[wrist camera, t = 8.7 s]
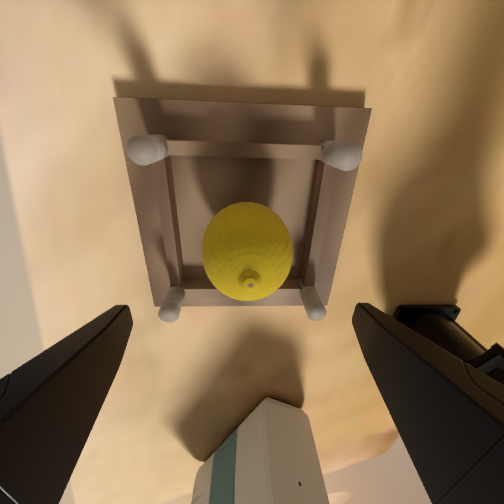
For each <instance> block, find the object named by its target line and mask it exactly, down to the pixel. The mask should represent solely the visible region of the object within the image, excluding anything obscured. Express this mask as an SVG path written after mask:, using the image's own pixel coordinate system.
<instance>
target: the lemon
mask: <svg viewBox="0 0 504 504" xmlns="http://www.w3.org/2000/svg"><path fill="white" fill-rule="evenodd" d="M292 257H293V247H292V241H291V237H290V234H289V231H288V229H287V227H286V225H285V224H284V222H283V221H282V219H281V218H280V217H279V216H278V215H277V214H276V213H275V212H274V211H273V210H271V209H270V208H268V207H266V206H264V205H262V204H258V203H254V202H239V203H235V204H232V205H229V206H227V207H226V208H224V209H222V210H220V211H219V212H218V213H217V214H216V215H215V216H214V217H213V218H212V219H211V221H210V223H209V225H208V226H207V228H206V230H205V232H204V237H203V241H202V262H203V265H204V268H205V271H206V274H207V276H208V278H209V279H210V281H211V282H212V284H213V285H214V286H215V287H216V288H217V289H218V290H219V291H220V292H221V293H223V294H224V295H226V296H228V297H230V298H233V299H237V300H240V301H253V300H259V299H262V298H265V297H267V296H269V295H271V294H272V293H274V292H275V291H276V290H277V289H278V288H279V287H280V286H281V285H282V284H283V283H284V281H285V280H286V278H287V276H288V274H289V271H290V268H291V264H292Z"/></svg>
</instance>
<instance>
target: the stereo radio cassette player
mask: <svg viewBox="0 0 504 504" xmlns="http://www.w3.org/2000/svg"><path fill="white" fill-rule="evenodd" d="M191 504H329V500H328V496H327V492H326V488H325V484H324V480H323V476H322V471H321V467H320V463H319V459H318V455H317V451H316V447H315V442H314V438H313V434H312V430H311V426H310V422H309V418H308V416H307V414H306V413H305V412H304V411H303V410H302V409H299V408H297V407H294V406H291V405H289V404H286V403H283V402H280V401H277V400H274V399H271V398H270V397H267V398H265V400H263V401H262V402H261V403H260V404H259V405H258V406H257V407H256V408H255V410H254V411H253V412H252V413H251V414H250V415H249V416H248V417H247V418H246V419H245V420H244V421H243V422H242V423H241V424H240V426H239V427H238V428H237V429H236V430H235V431H234V432H233V433H232V434H231V435H230V436H229V437H228V438H227V439H226V440H225V441H224V443H223V444H222V445H221V446H220V447H219V448H218V449H217V450H216V451H215V452H214V453H213V454H212V455H211V456H210V457H209V459H208V460H207V461H206V462H205V463H204V464H203V465H202V466H201V467H200V468H199V469H198V471H197V474H196V478H195V483H194V489H193V496H192V502H191Z"/></svg>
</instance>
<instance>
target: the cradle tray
mask: <svg viewBox="0 0 504 504" xmlns="http://www.w3.org/2000/svg"><path fill="white" fill-rule="evenodd" d="M113 100H114V105H115V110H116V115H117V120H118V125H119V130H120V135H121V140H122V145H123V150H124V155H125V160H126V165H127V170H128V175H129V180H130V185H131V190H132V195H133V200H134V205H135V210H136V215H137V220H138V225H139V230H140V235H141V240H142V245H143V250H144V255H145V261H146V266H147V271H148V276H149V281H150V286H151V291H152V296H153V301H154V306H161V308H160V310H159V313H158V315H159V317H160V319H161V320H163V321H165V322H174V321H176V320H177V319H178V316H179V313H180V310H181V307H182V306H295V305H304V307H305V310H306V313H307V315H308V318H309V319H311V320H314V321H317V320H321V319H322V318H324V317H325V315H326V309H325V307H324V305H327V304H328V299H329V295H330V291H331V286H332V282H333V277H334V273H335V269H336V264H337V260H338V255H339V251H340V247H341V242H342V238H343V233H344V229H345V225H346V220H347V216H348V211H349V207H350V202H351V198H352V194H353V189H354V185H355V180H356V176H357V172H358V167H359V163H360V161H361V159H362V150H363V145H364V141H365V136H366V132H367V128H368V123H369V119H370V114H371V110H372V108H351V107H328V106H305V105H282V104H259V103H236V102H213V101H190V100H167V99H144V98H121V97H113ZM239 202H254V203H258V204H262V205H264V206H266V207H268V208H270V209H271V210H273V211H274V212H275V213H276V214H277V215H278V216H279V217H280V218H281V219H282V221H283V222H284V224H285V225H286V227H287V229H288V231H289V234H290V237H291V241H292V247H293V257H292V264H291V268H290V271H289V274H288V276H287V278H286V280H285V281H284V283H283V284H282V285H281V286H280V287H279V288H278V289H277V290H276V291H275V292H274V293H272V294H271V295H269V296H267V297H265V298H262V299H259V300H253V301H240V300H237V299H233V298H230V297H228V296H226V295H224V294H223V293H221V292H220V291H219V290H218V289H217V288H216V287H215V286H214V285H213V284H212V282H211V281H210V279H209V278H208V276H207V274H206V271H205V268H204V265H203V262H202V241H203V237H204V232H205V230H206V228H207V226H208V225H209V223H210V221H211V219H212V218H213V217H214V216H215V215H216V214H217V213H218V212H219V211H220V210H222V209H224V208H226V207H227V206H229V205H232V204H235V203H239Z"/></svg>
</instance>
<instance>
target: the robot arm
mask: <svg viewBox="0 0 504 504" xmlns="http://www.w3.org/2000/svg"><path fill="white" fill-rule="evenodd" d="M460 311H461V309H460V308H459V307H458V306H456V305H402V306H399V307H398V308H397V310H396V312H395V315H394V317H393V318H392V317H390V316H389V315H387V314H385V313H384V312H382V311H380V310H379V309H377V308H375V307H374V306H372V305H371V304H369V303H358V304H357V305H356V307H355V310H354V314H353V317H352V324H353V327H354V330H355V333H356V336H357V339H358V341H359V344H360V347H361V350H362V353H363V356H364V358H365V361H366V363H367V365H368V367H369V370H370V372H371V374H372V376H373V378H374V380H375V382H376V385H377V387H378V389H379V391H380V393H381V395H382V397H383V400H384V402H385V404H386V406H387V408H388V410H389V412H390V415H391V417H392V419H393V421H394V423H395V425H396V427H397V430H398V432H399V434H400V436H401V438H402V440H403V442H404V444H405V447H406V449H407V451H408V453H409V455H410V457H411V459H412V462H413V464H414V466H415V468H416V470H417V472H418V475H419V477H420V479H421V481H422V483H423V485H424V487H425V490H426V492H427V494H428V496H429V498H430V500H431V502H432V504H504V347H502V346H501V345H499V344H498V343H495V344H494V345H492V346H491V348H490V349H489V350H487V349H486V348H485V347H484V346H483V345H481V344H480V343H479V342H478V341H477V340H476V339H475V338H473V337H472V336H471V335H470V334H469V333H468V332H467V331H466V330H464V329H463V328H462V327H461V326H460V325H459V324H458V323H457V322H455V320H456V318H457V316H458V314H459V313H460ZM132 327H133V320H132V316H131V312H130V308H129V306H128V305H115V306H114V307H112V308H111V309H109V310H107V311H106V312H104V313H103V314H101V315H100V316H98V317H97V318H95V319H93V320H92V321H90V322H89V323H87V324H86V325H84V326H83V327H81V328H79V329H78V330H76V331H75V332H73V333H72V334H70V335H68V336H67V337H65V338H64V339H62V340H61V341H59V342H58V343H56V344H54V345H53V346H51V347H50V348H48V349H47V350H45V351H43V352H42V353H40V354H39V355H37V356H36V357H34V358H33V359H31V360H29V361H28V362H26V363H25V364H23V365H22V366H20V367H18V368H17V369H15V370H14V371H12V373H11V374H7V375H6V376H4V377H3V378H1V379H0V504H59V502H60V500H61V497H62V495H63V493H64V490H65V488H66V486H67V484H68V482H69V479H70V477H71V475H72V473H73V470H74V468H75V466H76V464H77V461H78V459H79V457H80V455H81V452H82V450H83V448H84V446H85V443H86V441H87V439H88V437H89V434H90V432H91V430H92V428H93V425H94V423H95V421H96V419H97V416H98V414H99V412H100V410H101V407H102V405H103V403H104V401H105V398H106V396H107V394H108V392H109V389H110V387H111V385H112V383H113V380H114V378H115V376H116V373H117V371H118V369H119V366H120V364H121V361H122V358H123V355H124V352H125V349H126V346H127V342H128V339H129V336H130V333H131V330H132Z"/></svg>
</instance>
